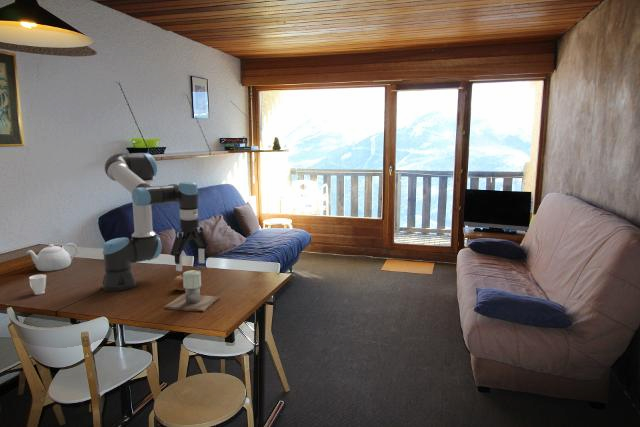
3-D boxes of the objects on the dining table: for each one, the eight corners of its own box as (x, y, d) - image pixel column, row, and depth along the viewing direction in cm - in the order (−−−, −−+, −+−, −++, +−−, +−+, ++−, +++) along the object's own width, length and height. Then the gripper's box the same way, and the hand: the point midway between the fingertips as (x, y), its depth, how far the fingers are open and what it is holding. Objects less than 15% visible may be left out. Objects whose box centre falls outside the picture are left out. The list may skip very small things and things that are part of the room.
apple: (173, 288, 212) (172, 272, 211) (190, 286, 216) (189, 270, 214) (174, 293, 205) (174, 277, 204) (192, 291, 208) (191, 275, 207)
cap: (204, 286, 191) (203, 272, 190) (188, 290, 186) (188, 276, 185) (195, 282, 196) (195, 269, 195) (180, 286, 191) (179, 272, 190)
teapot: (60, 272, 239) (58, 248, 237) (27, 272, 239) (24, 247, 237) (79, 263, 258) (77, 240, 256) (48, 263, 258) (46, 240, 256)
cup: (35, 296, 201) (34, 279, 200) (23, 293, 206) (21, 276, 204) (51, 292, 207) (49, 275, 206) (38, 288, 212) (37, 272, 211)
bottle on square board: (164, 308, 186) (162, 281, 184) (183, 296, 202) (182, 270, 200) (203, 311, 182) (202, 284, 180) (220, 298, 198) (219, 273, 196)
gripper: (173, 224, 173) (175, 275, 177) (215, 215, 195) (216, 260, 199) (159, 222, 177) (162, 273, 180) (202, 213, 199) (203, 258, 202)
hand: (190, 266), depth 190 cm, fingers open, 13 cm apart
